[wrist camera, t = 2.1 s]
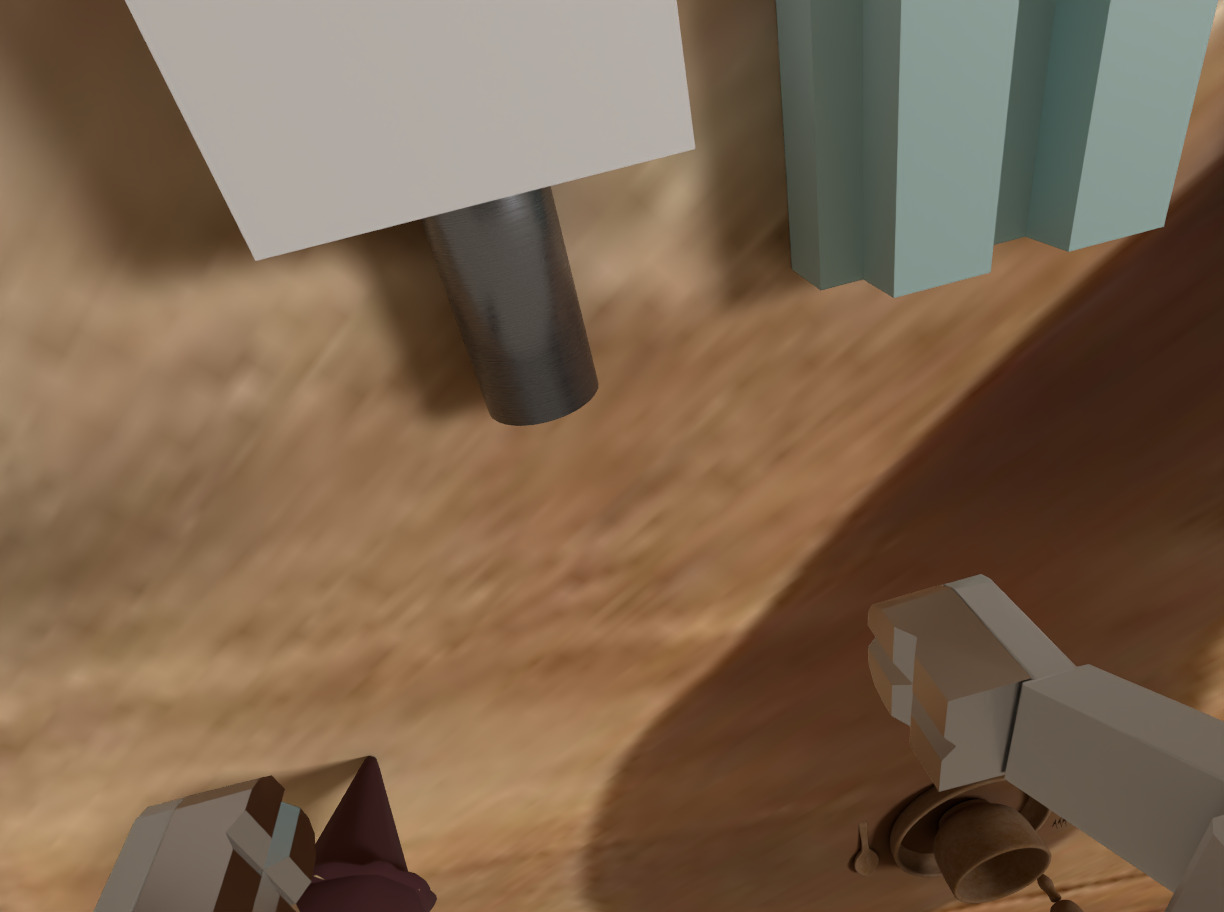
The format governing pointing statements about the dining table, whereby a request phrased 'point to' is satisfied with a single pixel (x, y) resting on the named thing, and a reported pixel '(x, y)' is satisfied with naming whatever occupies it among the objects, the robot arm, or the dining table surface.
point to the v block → (978, 128)
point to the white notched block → (413, 102)
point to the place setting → (974, 847)
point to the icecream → (363, 856)
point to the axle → (516, 306)
